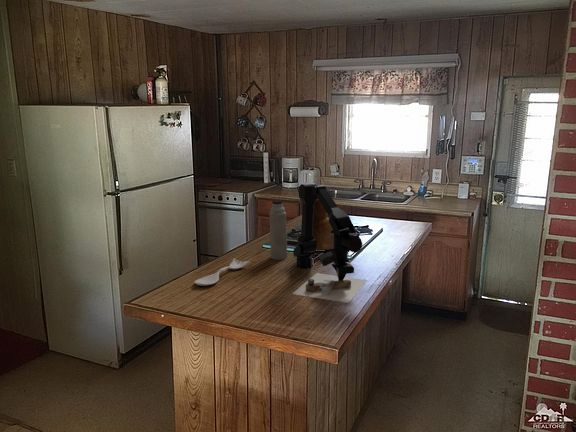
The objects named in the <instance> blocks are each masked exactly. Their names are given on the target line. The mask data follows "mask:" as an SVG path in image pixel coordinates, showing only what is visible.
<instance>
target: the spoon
mask: <svg viewBox="0 0 576 432" xmlns="http://www.w3.org/2000/svg"><path fill="white" fill-rule="evenodd" d="M250 262H251V261H250V260H248V261H240V260H238V259H236V258H233V259H232V261H231V262H230V264H229V266H225V267H221V268H220V269H218V271H216V272H215V273H213V274H212V273H211V274H210V275H206V276H203V277H200V278H198V279H196V280H194V281H193V283H194V284H195V285H197V286H206V287H207V286H212V285H214V284H216V283H217V282H219V279H220V274H221V273H222V272H226V271H227V270H238V269H241V268H243V267H245V266H247V265H249V264H250Z"/></svg>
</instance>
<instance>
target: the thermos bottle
mask: <svg viewBox="0 0 576 432" xmlns="http://www.w3.org/2000/svg"><path fill="white" fill-rule="evenodd" d="M271 203H272V204H271V205H272V206H271V207H270V212H269V214H268V215H269V239H270V240H269V241H270V258H271V259H272V260H278V261H279V260H286V259H287V258H288V234H287V212H286V211H285V210H286V209H285V207H284V206H283V203H284V202H283V201H282V200H273V201H271Z"/></svg>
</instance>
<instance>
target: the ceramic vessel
mask: <svg viewBox="0 0 576 432" xmlns="http://www.w3.org/2000/svg"><path fill="white" fill-rule="evenodd" d="M332 230H333V229H332V227H331V225H330V223H329V216H328V214H327V212H326V211H325V209H324V207H323V206H322V204H321V203H320V201H319V200H318V198H317V199H316V201H315V203H314V209H313V237H314V238H315V239H316V240H317V244H316V245H317V248H316V250H328V249H331V248H332V247H333V234H332V233H331V231H332Z"/></svg>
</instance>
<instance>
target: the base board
mask: <svg viewBox="0 0 576 432" xmlns="http://www.w3.org/2000/svg"><path fill="white" fill-rule="evenodd" d="M309 279H313V280H314V283H321V282H323V281H324V280H332V281H338V277H337V275H331V274H325V273H318V272H316V273H315V274H314V275H313V276H312V277H310V278H309ZM343 280H350V281H351V287H346V288H337V289H330V295H329V296H323V295H322V290H318V291H317V290H316V291H314V292H308V291H306V284H307V283H308V280H307V281H305V283H303V284H302V285H301V286H299V288H298V289H296V290H295V291H294V292H292V295H297V296H304V297H308V298H309V297H310V298H315V299H316V298H317V299H322V300H327V301H333V302H341V303H346V304H349V303H350V301H352V299H353V298H354V297H355V295H357V294H358V293H359V291H360V290H362V288H363V287H364V286H365V284H366V283H367V282H368V281H369V280H368V279H361V278H354V277H346V276H345V277H344V279H343Z"/></svg>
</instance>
